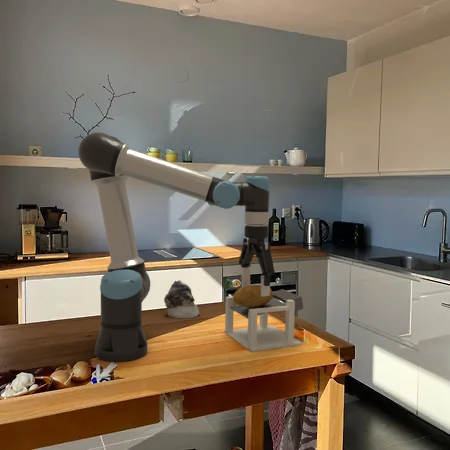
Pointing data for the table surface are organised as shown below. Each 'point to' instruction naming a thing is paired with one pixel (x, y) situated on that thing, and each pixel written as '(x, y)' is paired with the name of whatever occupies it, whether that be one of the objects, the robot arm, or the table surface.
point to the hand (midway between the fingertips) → (255, 291)
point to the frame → (262, 328)
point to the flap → (272, 303)
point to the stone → (180, 301)
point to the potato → (251, 296)
